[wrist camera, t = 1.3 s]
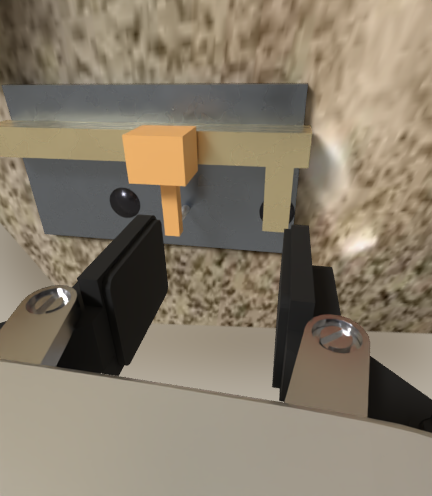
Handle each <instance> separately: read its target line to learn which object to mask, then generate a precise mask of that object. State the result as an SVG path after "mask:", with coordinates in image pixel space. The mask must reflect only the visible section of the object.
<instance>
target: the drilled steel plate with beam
mask: <svg viewBox="0 0 432 496" xmlns="http://www.w3.org/2000/svg"><path fill="white" fill-rule="evenodd" d="M2 88H3V92H4V95H5V99H6V102H7V106H8V109H9V112H10V116H11V119H12V120H6V121H1V122H0V157H21V158H23V160H24V164H25V167H26V171H27V174H28V178H29V181H30V184H31V188H32V191H33V195H34V198H35V202H36V205H37V208H38V212H39V215H40V219H41V222H42V226H43V229H44V232H45V234H53V235H65V236H78V237H90V238H103V239H115V238H116V237H117V236H118V235H119V234H120V233H121V232H122V231H123V229H124V228H125V227H126V226H127V225H128V224H129V223H130V222H131V221H132V220H133V219H134V218H135V217H136V216H137V215H138V214H140V215H154V216H155V217H156V219H157V220H160V221H161V224H162V233H163V242H164V244H177V245H189V246H202V247H214V248H226V249H239V250H251V251H263V252H276V253H282V249H283V237H284V229H291V225H294V215H295V205H296V196H297V186H298V176H299V168H308V167H309V158H310V149H311V141H312V130H311V125H304V117H305V107H306V98H307V88H308V83H194V84H7V85H2ZM142 125H164V126H196V137H197V160H198V171H197V173H196V174H195V175H194V176H193V178H192V179H191V180H190V181H189V183H188V184H187V185H186V186H180V194H181V208H182V207H183V205H188V206H189V208H190V210H189V212H188V213H187V215H186V216H185V218H184V219H183V221H182V222H183V232H182V234H181V235H180V236H167V235H165V228H164V218H163V208H162V198H161V188H160V185H149V184H129V181H128V174H127V167H126V160H125V153H124V146H123V140H122V135H123V134H125V133H127V132H129V131H131V130H133V129H135V128H137V127H139V126H142Z"/></svg>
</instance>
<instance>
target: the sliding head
mask: <svg viewBox="0 0 432 496" xmlns="http://www.w3.org/2000/svg"><path fill="white" fill-rule="evenodd" d="M122 140H123V146H124V153H125V160H126V167H127V174H128V181H129V184H149V185H160V188H161V198H162V208H163V218H164V228H165V235H167V236H180V235H181V234H182V232H183V222H182V221H183V219H184V218H185V216H186V215H187V213H188V212H189V210H190V208H189V206H188V205H183V207H182V208H181V194H180V186H186V185H187V184H188V183H189V181H190V180H191V179H192V178H193V176H194V175H195V174H196V173H197V171H198V160H197V137H196V126H164V125H142V126H139V127H137V128H135V129H133V130H131V131H129V132H127V133H125V134H123V135H122Z"/></svg>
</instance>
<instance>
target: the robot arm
mask: <svg viewBox="0 0 432 496" xmlns="http://www.w3.org/2000/svg"><path fill="white" fill-rule="evenodd" d="M77 280H78V282H77V283H76V284H75V285H74V286H73V287H69V286H65V285H55V286H49V287H45V288H42V289H40V290H37V291H35V292H33V293H32V294H30V295H28V296H27V297H26V298H25V299H24V300H23V301H22V302H21V303H20V305H19V306H18V307H17V308H16V310H15V311H14V312H13V314H12V315H11V316H10V318H9V319H8V320H7V321H5V322H2V323H0V496H432V400H431V399H430V398H429V397H427V396H426V395H424V394H423V393H422V392H420V391H419V390H417V389H416V388H414V387H413V386H412V385H410V384H409V383H408V382H406V381H405V380H403V379H402V378H400V377H399V376H398V375H396V374H395V373H393V372H392V371H391V370H389V369H388V368H386V367H385V366H383V365H382V364H381V363H379V362H378V361H377V360H375V359H374V358H372V357H371V356H370V340H369V336H368V334H367V333H366V331H365V330H364V329H363V328H362V327H361V326H360V325H359V324H358V323H356V322H354V321H352V320H351V319H348V318H345V317H342V316H341V314H340V308H339V302H338V297H337V291H336V285H335V280H334V274H333V269H332V267H325V266H313V265H312V258H311V246H310V234H309V226H305V225H291V229H284V237H283V249H282V260H281V271H280V283H279V294H278V307H277V322H276V338H275V354H274V368H273V384H272V387H274V388H280V398H279V400H280V401H283V402H284V403H283V402H276V401H269V400H264V399H258V398H252V397H245V396H239V395H233V394H226V393H221V392H214V391H208V390H202V389H196V388H190V387H183V386H177V385H171V384H163V383H157V382H151V381H145V380H138V379H132V378H126V377H119V374H120V372H121V370H122V369H123V367H124V365H129V364H130V363H131V361H132V359H133V357H134V355H135V353H136V351H137V349H138V347H139V346H140V344H141V341H142V340H143V338H144V336H145V334H146V332H147V330H148V328H149V326H150V325H151V323H152V321H153V319H154V317H155V315H156V313H157V311H158V309H159V307H160V305H161V304H162V302H163V300H164V298H165V296H166V294H167V290H168V281H167V271H166V262H165V252H164V242H163V233H162V224H161V221H160V220H157V219H156V217H155V216H154V215H140V214H138V215H137V216H136V217H135V218H134V219H133V220H132V221H131V222H130V223H129V224H128V225H127V226H126V227H125V228H124V229H123V231H122V232H121V233H120V234H119V235H118V236H117V237H116V238H115V239H114V240H113V241H112V242H111V243H110V244H109V245H108V246H107V247H106V248H105V249H104V250H103V252H102V253H101V254H100V255H99V256H98V257H97V258H96V259H95V260H94V261H93V262H92V263H91V264H90V265H89V266H88V267H87V268H86V269H85V270H84V271H83V273H82V274H81V275H80V276H79V277H78V278H77ZM100 373H102V374H100ZM106 374H109V375H106ZM113 375H115V376H113Z"/></svg>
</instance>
